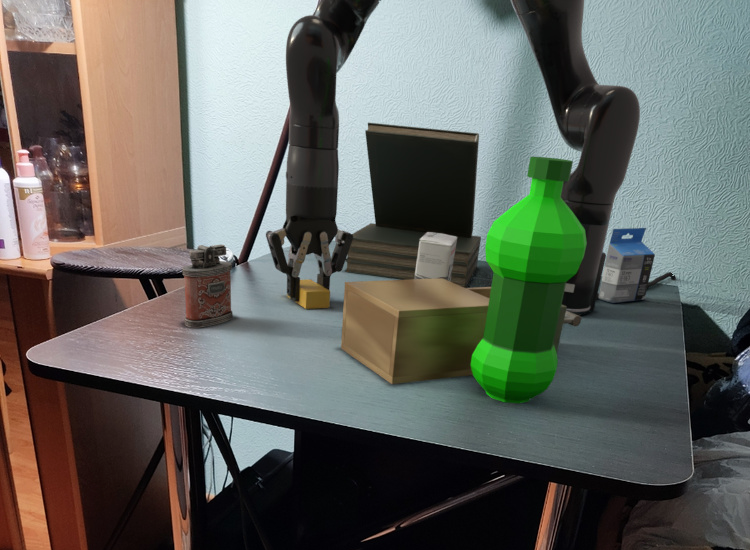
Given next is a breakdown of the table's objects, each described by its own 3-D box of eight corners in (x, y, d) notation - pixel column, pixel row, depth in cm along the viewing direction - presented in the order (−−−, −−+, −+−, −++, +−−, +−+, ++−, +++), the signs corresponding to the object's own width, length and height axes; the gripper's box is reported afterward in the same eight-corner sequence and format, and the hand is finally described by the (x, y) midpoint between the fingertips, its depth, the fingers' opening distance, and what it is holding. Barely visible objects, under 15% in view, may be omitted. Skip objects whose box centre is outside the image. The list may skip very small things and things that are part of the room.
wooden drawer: (530, 328, 107) (539, 281, 104) (588, 354, 98) (600, 304, 94) (421, 337, 98) (426, 286, 95) (473, 366, 89) (481, 311, 86)
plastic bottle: (571, 403, 83) (625, 166, 71) (506, 417, 78) (553, 163, 65) (510, 375, 90) (550, 155, 78) (446, 387, 84) (478, 151, 72)
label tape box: (612, 304, 129) (630, 232, 123) (595, 298, 132) (611, 228, 126) (644, 300, 134) (663, 231, 128) (627, 295, 137) (644, 227, 131)
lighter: (197, 329, 96) (194, 251, 91) (179, 323, 98) (175, 247, 93) (238, 318, 102) (237, 245, 97) (220, 313, 104) (218, 240, 99)
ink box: (441, 326, 107) (451, 243, 101) (408, 322, 108) (416, 239, 102) (447, 312, 114) (458, 234, 109) (416, 308, 115) (425, 230, 109)
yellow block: (309, 295, 117) (310, 279, 116) (329, 307, 111) (330, 290, 110) (287, 296, 115) (287, 280, 114) (305, 309, 110) (306, 291, 108)
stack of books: (476, 268, 148) (496, 132, 136) (465, 287, 131) (487, 134, 119) (368, 254, 152) (378, 120, 139) (344, 271, 135) (353, 121, 123)
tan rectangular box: (434, 340, 100) (442, 278, 96) (492, 373, 90) (504, 304, 86) (340, 348, 94) (344, 281, 90) (391, 384, 84) (399, 310, 80)
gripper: (275, 183, 99) (274, 308, 107) (367, 186, 105) (359, 303, 114) (256, 176, 104) (256, 295, 113) (344, 179, 111) (338, 292, 119)
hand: (308, 299), depth 113 cm, fingers closed on yellow block, 4 cm apart
